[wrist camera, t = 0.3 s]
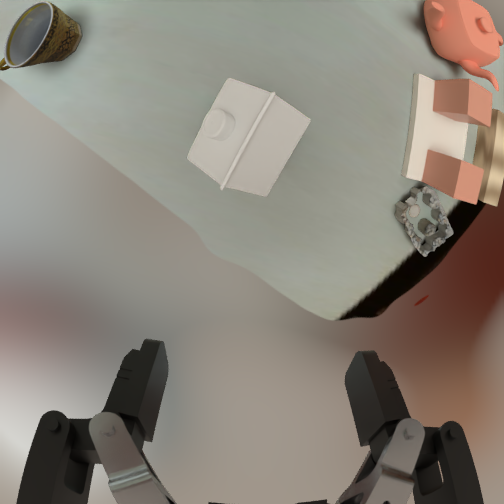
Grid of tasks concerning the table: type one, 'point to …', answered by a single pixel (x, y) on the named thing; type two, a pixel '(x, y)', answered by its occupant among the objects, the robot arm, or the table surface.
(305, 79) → the table surface
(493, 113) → the oak beam
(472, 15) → the teapot
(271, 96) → the milk carton
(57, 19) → the ceramic cup
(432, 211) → the egg carton
